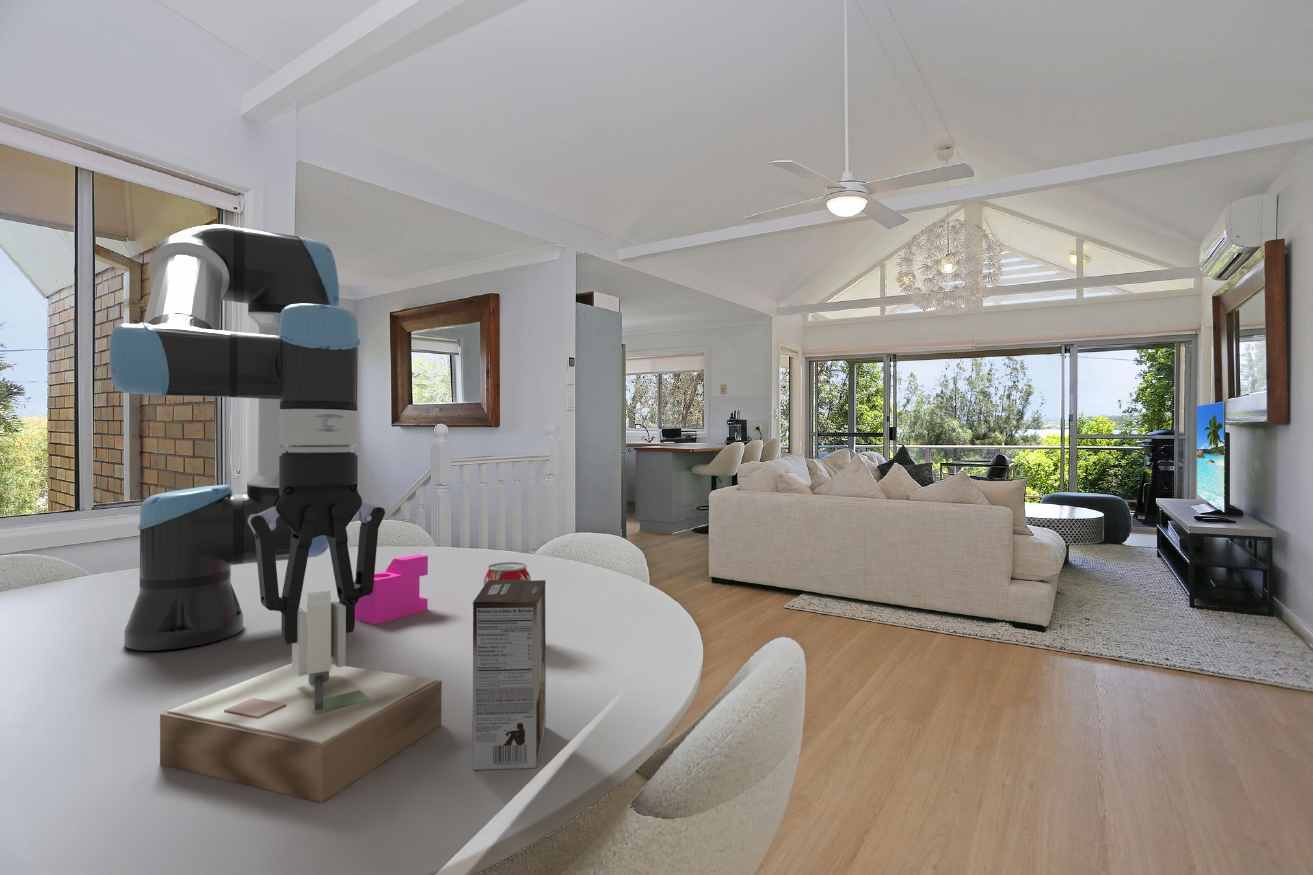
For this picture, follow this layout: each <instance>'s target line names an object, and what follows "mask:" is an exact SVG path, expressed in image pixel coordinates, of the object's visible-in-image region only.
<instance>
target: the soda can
mask: <svg viewBox="0 0 1313 875" xmlns="http://www.w3.org/2000/svg"><path fill="white" fill-rule="evenodd" d="M527 568H528V567H527V563H523V562H516V561H515V562H514V561H507V562H496V563H492V564H489V565H488V566H487V569H488V570H487V572H486V574H485V576H484V578H483V587H484V586H485V584H486V583H487V581H489V580H527V581H532V580H531V575H530V572H529V571H528V570H527Z"/></svg>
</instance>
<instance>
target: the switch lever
mask: <svg viewBox="0 0 1313 875" xmlns="http://www.w3.org/2000/svg"><path fill="white" fill-rule="evenodd" d="M331 602H332V597H331V590H323V591H312V592H307V604H306V612H307V674H308V681H309V682H310V683H315V710H319V709H323V682H324V681H326V680H328V679H329V671H331V664H332V662H331Z"/></svg>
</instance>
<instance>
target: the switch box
mask: <svg viewBox="0 0 1313 875" xmlns="http://www.w3.org/2000/svg"><path fill="white" fill-rule="evenodd" d="M442 685H443V684H442V679H441V680H440V679H434V678H428V677H423V676H422V677H421V676H415V675H408V674H401V673H393V672H389V671H382V670H381V671H380V670H375V669H367V668H361V667H360V668H359V667H353V666H349V665H348V666H347V665H346V666H342V667H337V666H336V665H335V664H333V663H331V671H329V679H328V680H326V681H324V682H323V709H319V710H315V683H310V682H309V681H308V674H307V675H302V676H298V675H297V674H296V673H295V672H294V671H293V670H292V662H291V663H288V664H286V665H284V666H281V667H278V668H276V669H273V670H270V671H268V672H264V673H262V674H260V675H257V676H254V677H252V678H250V679H246V680H245V681H242V682H238V683H237V684H234V685H231V686H229V687H226V688H223V689H221V690H218V691H216V692H213V693H210V694H207V695H205V696H203V697H202V696H201V697H199V698H197V699H194V700H193V701H190V702H187V703H184V704H181V705H179V706H176V707H174V708H171V709H169V710H168V709H167V711H164V712H161V713H160V714H159V765H162V766H166V767H171V768H176V769H180V770H184V771H187V772H192V773H196V774H201V775H205V776H208V777H212V778H213V777H214V778H217V779H221V780H226V781H230V782H233V783H238V784H243V785H246V786H251V787H255V788H259V789H263V790H268V791H271V792H276V793H280V794H285V795H288V796H293V797H296V798H301V799H306V800H309V801H314V802H318V803H321V804H322V803H324V802H325V801H326V800H328V799H330V798H332V797H333V796H334V795H336V794H337V793H339V792H340V791H342V790H343V789H345V788H346V787H349V785H351V784H353V783H355V782H356V781H357V780H359V779H360V778H362V777H363V776H365V775H367V774H369V773H370V772H371V771H373V770H374V769H375V768H377V767H378V766H380V765H382V764H383V763H384V762H386V761H387V760H389V759H391V758H392V757H394V756H396V755H397V754H398V753H399V754H400V752H402V751H403V750H405V749H406V748H407V747H410V746H411V745H413V744H414V743H415V742H417V741H418V740H420V739H422V738H423V737H425V736H427V735H428V734H429V733H431V732H432V731H433V730H435V729H437V728H439V727H440V726H441V725H442Z"/></svg>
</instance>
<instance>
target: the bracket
mask: <svg viewBox="0 0 1313 875" xmlns="http://www.w3.org/2000/svg"><path fill="white" fill-rule="evenodd" d="M428 565H429V556H428V555H425V554H413V555H407V556H401V557H396V558H394V557H393V559H392V561H391V562H390V564H389V565H388V566H387V568H386V569H385V570H384V571H381V572H375V574H374V585H373V592H372V593H371V594H370V595H367V596H366V595H365V596H363V597H361V598H359V600H358V603H357V604H355V620H358V621H362V622H365V623H368V624H372V625H379V624H382V623H385V622H389V621H393V620H396V619H400V618H403V617H407V616H411V615H413V614H414V615H415V614H418V613H421V612H425V611H428V609H429V608H428V607H429V606H428V598H426V597H423V596H420V582H421V580H420V579H421V578H420V577H424V576H428V572H429V566H428ZM353 581H354V585H355V580H353Z"/></svg>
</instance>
